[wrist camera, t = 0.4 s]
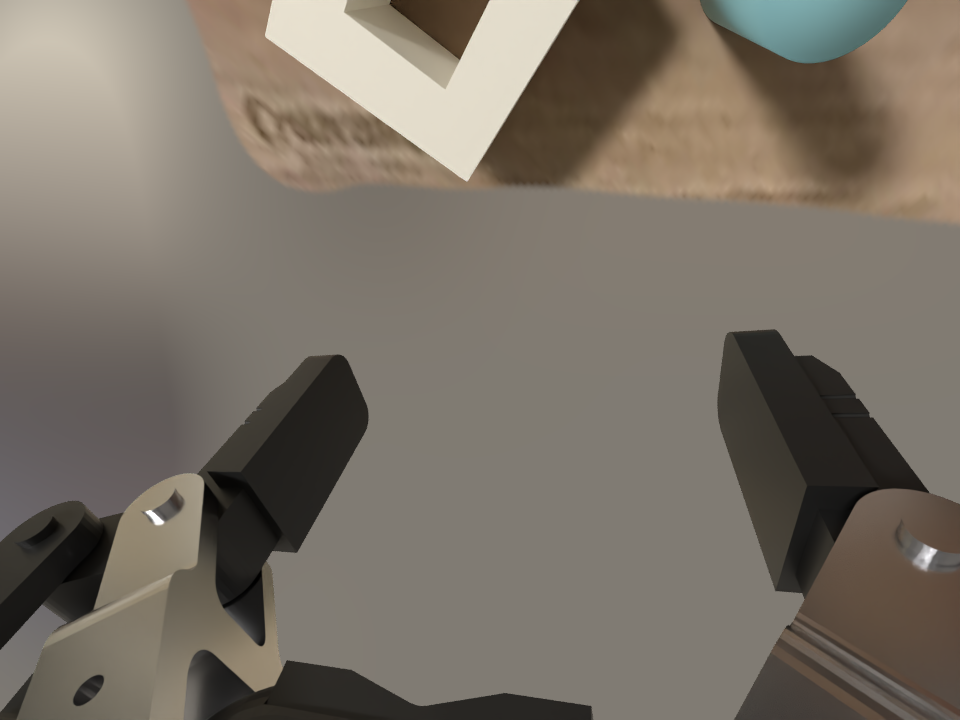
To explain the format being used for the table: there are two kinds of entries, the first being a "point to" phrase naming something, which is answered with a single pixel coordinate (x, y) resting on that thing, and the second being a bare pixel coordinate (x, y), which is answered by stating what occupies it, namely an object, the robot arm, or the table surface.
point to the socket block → (424, 67)
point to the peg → (804, 24)
